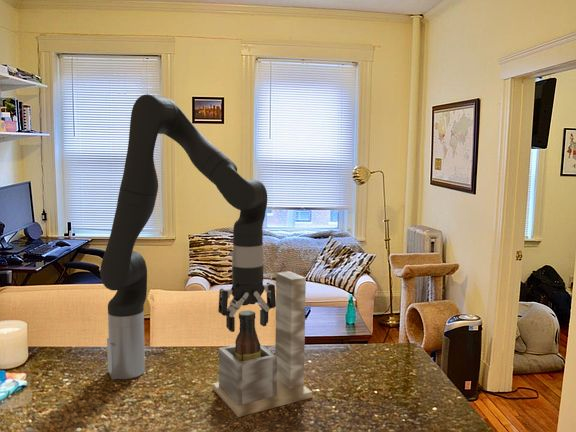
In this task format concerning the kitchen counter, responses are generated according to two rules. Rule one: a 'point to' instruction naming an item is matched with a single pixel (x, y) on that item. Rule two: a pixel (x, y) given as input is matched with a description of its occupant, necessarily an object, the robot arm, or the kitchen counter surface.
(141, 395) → the kitchen counter surface
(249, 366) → the grey holder stand
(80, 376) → the kitchen counter surface
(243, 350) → the sauce bottle
